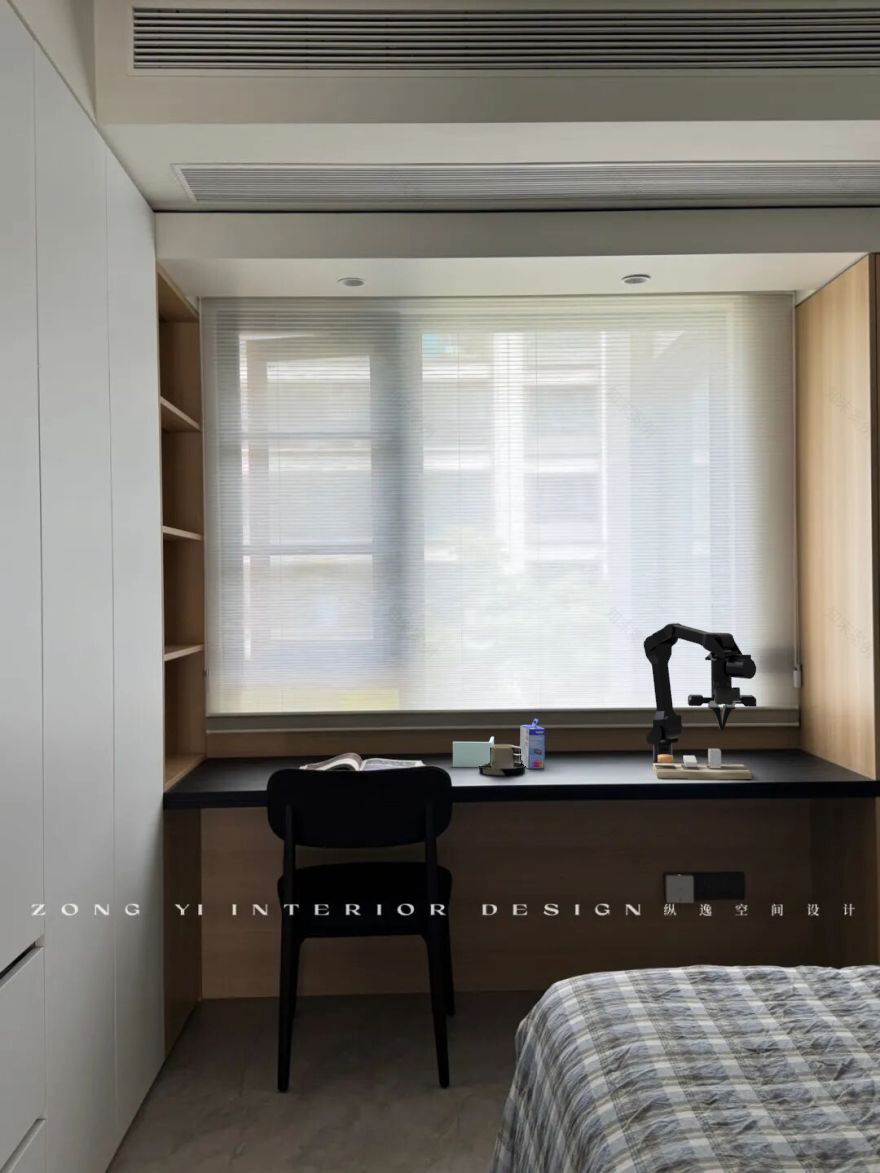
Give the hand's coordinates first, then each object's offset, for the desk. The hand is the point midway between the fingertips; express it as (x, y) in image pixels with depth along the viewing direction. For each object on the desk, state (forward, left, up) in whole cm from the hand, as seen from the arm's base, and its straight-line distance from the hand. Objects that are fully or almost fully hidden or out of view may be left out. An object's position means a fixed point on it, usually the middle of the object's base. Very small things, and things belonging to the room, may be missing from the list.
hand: (721, 730), depth 282 cm
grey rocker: (0, -9, -10) cm, 13 cm away
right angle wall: (-14, -73, -13) cm, 76 cm away
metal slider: (0, -2, -11) cm, 11 cm away
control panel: (0, -6, -13) cm, 14 cm away
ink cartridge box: (-10, -55, -13) cm, 58 cm away
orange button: (0, -16, -9) cm, 19 cm away
